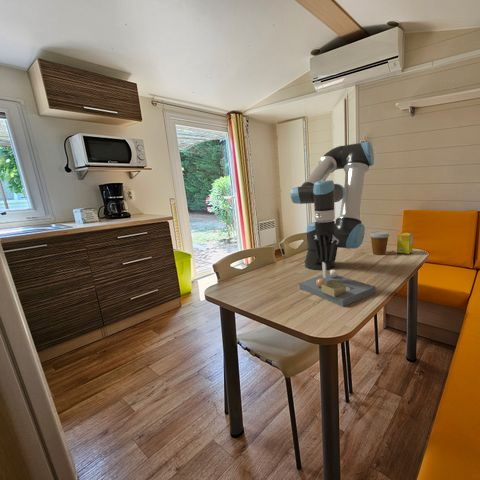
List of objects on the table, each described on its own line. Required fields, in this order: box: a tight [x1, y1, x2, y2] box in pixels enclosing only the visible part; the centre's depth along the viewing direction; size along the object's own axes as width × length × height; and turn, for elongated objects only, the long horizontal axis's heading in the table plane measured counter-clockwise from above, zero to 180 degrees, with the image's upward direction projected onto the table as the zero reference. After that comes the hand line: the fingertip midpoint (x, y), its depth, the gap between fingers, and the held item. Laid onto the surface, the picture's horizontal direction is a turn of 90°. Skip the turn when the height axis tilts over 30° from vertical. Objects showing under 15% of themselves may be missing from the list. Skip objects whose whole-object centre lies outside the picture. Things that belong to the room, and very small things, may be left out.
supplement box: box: [396, 232, 414, 256], centre depth 143 cm, size 6×6×11 cm
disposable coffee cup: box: [369, 230, 390, 256], centre depth 147 cm, size 10×10×12 cm
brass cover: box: [321, 280, 346, 297], centre depth 97 cm, size 6×6×3 cm
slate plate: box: [298, 274, 376, 307], centre depth 105 cm, size 22×18×2 cm
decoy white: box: [330, 269, 338, 278], centre depth 112 cm, size 3×3×3 cm
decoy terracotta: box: [316, 279, 325, 287], centre depth 103 cm, size 3×3×3 cm
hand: (326, 276), depth 109 cm, fingers closed
